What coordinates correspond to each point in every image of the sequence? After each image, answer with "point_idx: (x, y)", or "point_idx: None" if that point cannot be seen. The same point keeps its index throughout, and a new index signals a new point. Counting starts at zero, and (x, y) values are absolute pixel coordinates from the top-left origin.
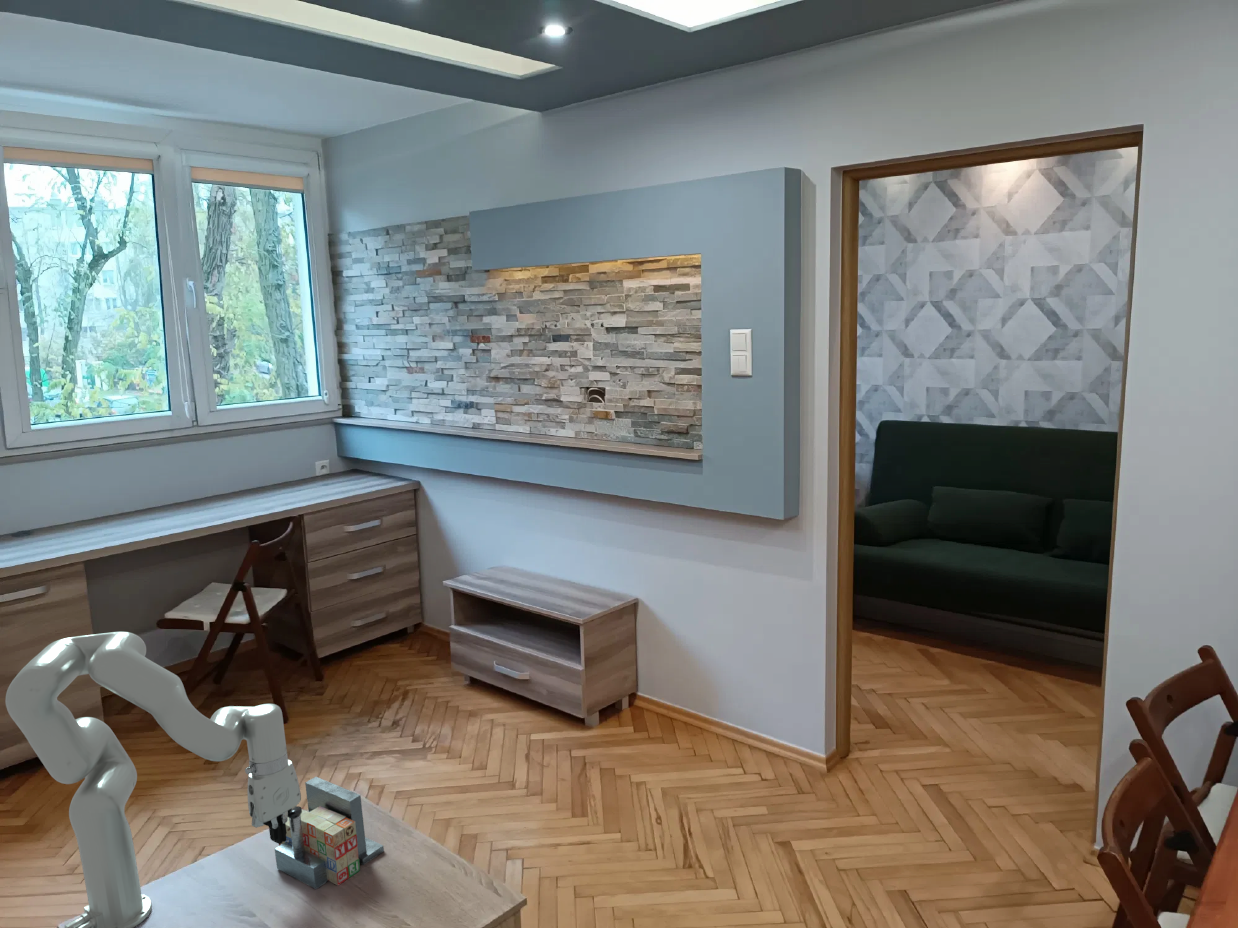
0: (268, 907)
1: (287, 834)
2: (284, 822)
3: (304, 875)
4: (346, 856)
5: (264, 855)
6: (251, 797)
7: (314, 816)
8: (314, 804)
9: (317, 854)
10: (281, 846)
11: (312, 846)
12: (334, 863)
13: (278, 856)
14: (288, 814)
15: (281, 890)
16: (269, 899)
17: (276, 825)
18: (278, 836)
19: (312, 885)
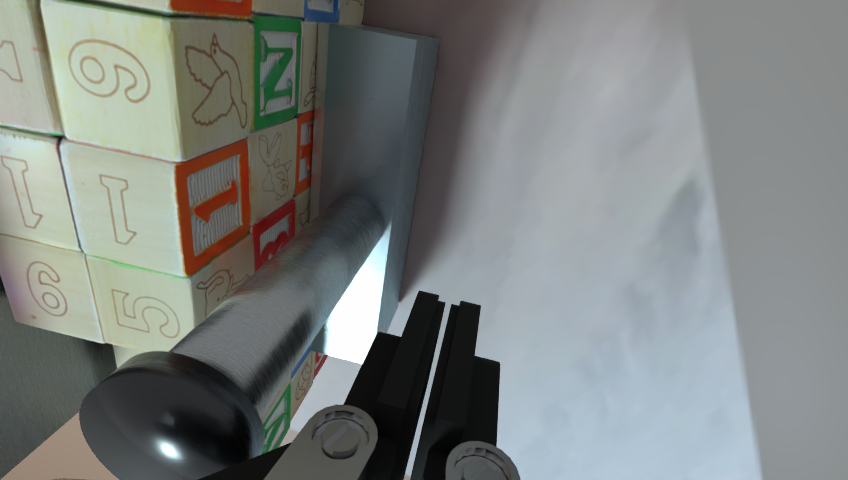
0: (621, 169)
1: None
2: (359, 418)
3: (418, 133)
4: None
5: None
6: None
7: (106, 272)
8: (49, 371)
9: (306, 127)
10: (347, 347)
11: (288, 174)
12: None
13: (384, 326)
14: (253, 461)
15: (500, 198)
16: (568, 205)
17: (470, 465)
18: (471, 356)
19: (434, 67)
